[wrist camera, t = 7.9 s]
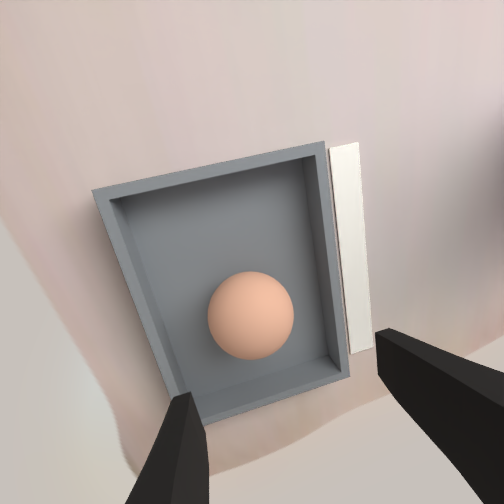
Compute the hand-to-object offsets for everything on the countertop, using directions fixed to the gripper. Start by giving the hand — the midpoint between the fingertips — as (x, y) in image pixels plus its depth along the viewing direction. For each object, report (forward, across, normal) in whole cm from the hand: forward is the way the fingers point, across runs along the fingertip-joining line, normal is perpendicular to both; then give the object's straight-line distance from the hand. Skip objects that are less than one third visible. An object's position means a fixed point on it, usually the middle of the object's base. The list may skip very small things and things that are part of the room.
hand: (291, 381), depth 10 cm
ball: (+6, 0, 0) cm, 6 cm away
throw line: (+9, -8, 0) cm, 12 cm away
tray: (+9, 0, 0) cm, 9 cm away
